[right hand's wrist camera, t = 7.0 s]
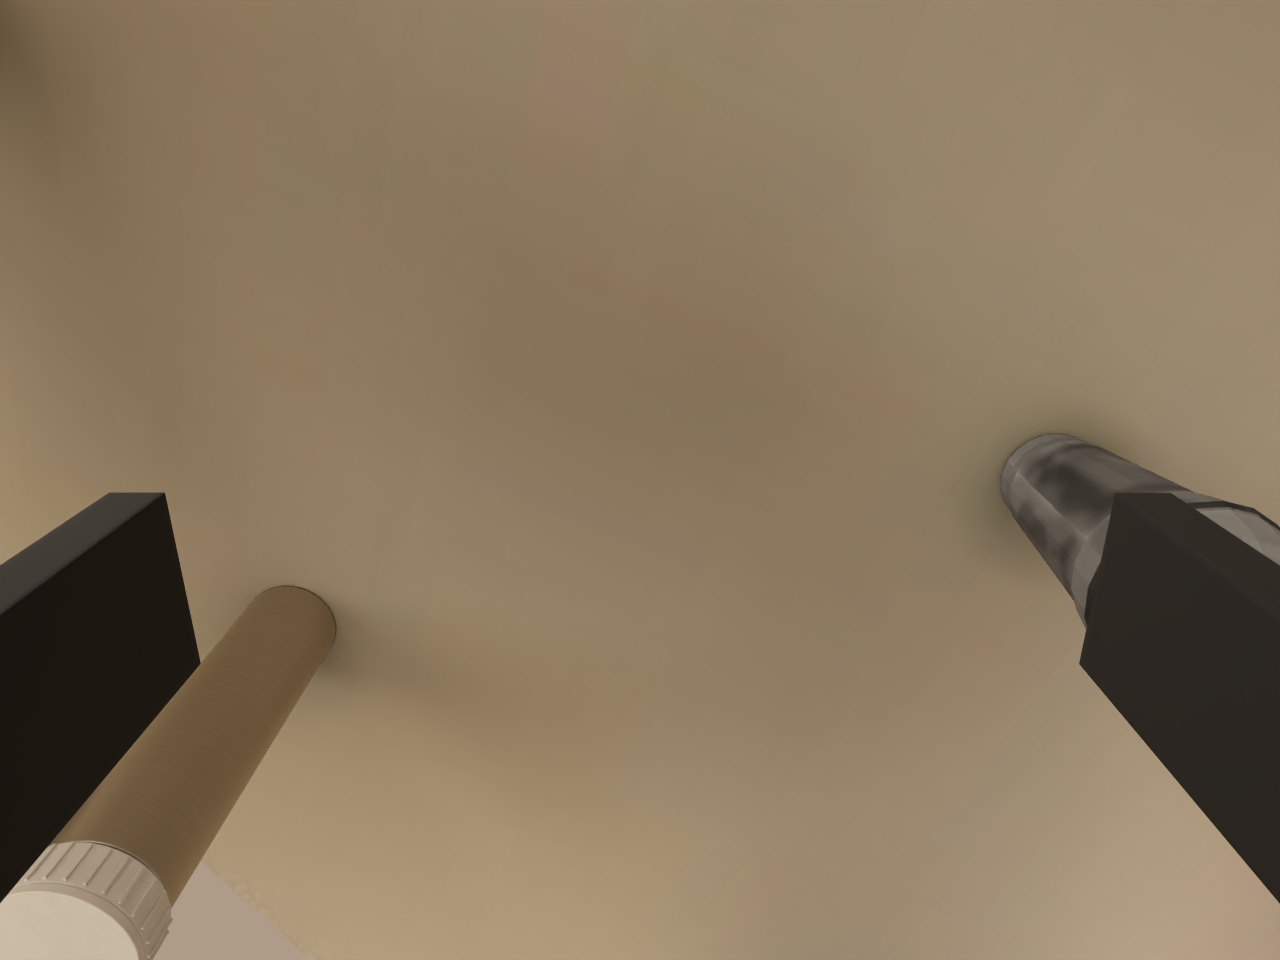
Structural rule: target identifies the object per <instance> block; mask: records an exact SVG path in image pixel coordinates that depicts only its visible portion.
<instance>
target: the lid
mask: <svg viewBox="0 0 1280 960" xmlns="http://www.w3.org/2000/svg"><path fill="white" fill-rule="evenodd" d="M171 908H172V905H170V901H169V898H168V895H167V891H165V889H164V887H163V885H162V884H161V882H160V881H159V879H158V878H157V877H156V876H155V875H154V874H153V873H152V872H151V871H150V870H149V869H148V868H147V867H146V866H145V865H143V864H142V863H141V862H139V861H138V860H136V859H135V858H133V857H131V856H129V855H128V854H126V853H123V852H121V851H119V850H117V849H114V848H111V847H108V846H104V845H100V844H95V843H88V842H66V843H60V844H56V843H55V844H52V846H49V847H47V848H46V849H45V851H44V852H43V853H42V854H41V855H40V856H39V858H38V859H37V860H36V861H35V862H34V864H33V865H32V866H31V867H30V868H29V870H28V871H27V872H26V873H25V874H24V876H23V877H22V878H21V879H20V880H19V882H18V883H17V884H16V885H15V886H14V888H13V889H12V890H11V891H10V892H9V894H8V895H7V896H6V897H5V898H4V899H3V901H2V902H1V903H0V960H153V958H154V956H155V954H156V953H157V951H158V949H159V948H160V946H161V944H162V943H163V941H164V939H165V938H166V936H167V934H168V933H169V931H168V930H167V929H168V927H169V925H170V923H171V922H172V918H170V917H171Z"/></svg>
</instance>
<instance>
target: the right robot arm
mask: <svg viewBox="0 0 1280 960" xmlns="http://www.w3.org/2000/svg"><path fill="white" fill-rule="evenodd" d="M200 664H201V663H200V658H199V653H198V648H197V644H196V639H195V634H194V629H193V625H192V620H191V615H190V610H189V605H188V601H187V596H186V591H185V586H184V582H183V577H182V572H181V567H180V563H179V558H178V553H177V548H176V544H175V539H174V534H173V529H172V525H171V520H170V515H169V510H168V506H167V501H166V496H165V493H108V494H107V495H105V496H104V497H102V498H101V499H99V500H98V501H96V502H95V503H93V504H92V505H90V506H89V507H87V508H86V509H84V510H83V511H81V512H80V513H78V514H77V515H75V516H74V517H72V518H71V519H69V520H68V521H66V522H65V523H63V524H62V525H60V526H59V527H57V528H56V529H54V530H53V531H51V532H50V533H48V534H47V535H45V536H44V537H42V538H41V539H39V540H38V541H36V542H35V543H33V544H32V545H30V546H29V547H27V548H26V549H24V550H23V551H21V552H20V553H18V554H17V555H15V556H14V557H12V558H11V559H9V560H8V561H6V562H5V563H3V564H2V565H0V903H1V902H2V901H3V899H4V898H5V897H6V896H7V895H8V894H9V892H10V891H11V890H12V889H13V888H14V886H15V885H16V884H17V883H18V882H19V880H20V879H21V878H22V877H23V876H24V874H25V873H26V872H27V871H28V870H29V868H30V867H31V866H32V865H33V864H34V862H35V861H36V860H37V859H38V858H39V856H40V855H41V854H42V853H43V852H44V851H45V849H46V848H47V847H48V846H49V845H50V843H51V842H52V841H53V840H54V839H55V837H56V836H57V835H58V834H59V833H60V831H61V830H62V829H63V828H64V827H65V825H66V824H67V823H68V822H69V821H70V819H71V818H72V817H73V816H74V815H75V813H76V812H77V811H78V810H79V809H80V807H81V806H82V805H83V804H84V803H85V802H86V800H87V799H88V798H89V797H90V796H91V794H92V793H93V792H94V791H95V790H96V788H97V787H98V786H99V785H100V784H101V782H102V781H103V780H104V779H105V778H106V776H107V775H108V774H109V773H110V772H111V770H112V769H113V768H114V767H115V766H116V764H117V763H118V762H119V761H120V760H121V759H122V757H123V756H124V755H125V754H126V753H127V751H128V750H129V749H130V748H131V747H132V745H133V744H134V743H135V742H136V741H137V739H138V738H139V737H140V736H141V735H142V733H143V732H144V731H145V730H146V729H147V727H148V726H149V725H150V724H151V723H152V721H153V720H154V719H155V718H156V717H157V716H158V714H159V713H160V712H161V711H162V710H163V708H164V707H165V706H166V705H167V704H168V702H169V701H170V700H171V699H172V698H173V696H174V695H175V694H176V693H177V692H178V690H179V689H180V688H181V687H182V686H183V684H184V683H185V682H186V681H187V680H188V678H189V677H190V676H191V675H192V674H193V673H194V671H195V670H196V669H197V668H198V667H199V665H200ZM1079 664H1080V665H1081V667H1082V668H1083V669H1084V670H1085V671H1086V673H1087V674H1088V675H1089V676H1090V677H1091V678H1092V680H1093V681H1094V682H1095V683H1096V684H1097V686H1098V687H1099V688H1100V689H1101V690H1102V692H1103V693H1104V694H1105V695H1106V696H1107V698H1108V699H1109V700H1110V701H1111V702H1112V704H1113V705H1114V706H1115V707H1116V708H1117V710H1118V711H1119V712H1120V713H1121V714H1122V716H1123V717H1124V718H1125V719H1126V720H1127V721H1128V723H1129V724H1130V725H1131V726H1132V727H1133V729H1134V730H1135V731H1136V732H1137V733H1138V735H1139V736H1140V737H1141V738H1142V739H1143V741H1144V742H1145V743H1146V744H1147V745H1148V747H1149V748H1150V749H1151V750H1152V751H1153V753H1154V754H1155V755H1156V756H1157V757H1158V759H1159V760H1160V761H1161V762H1162V763H1163V764H1164V766H1165V767H1166V768H1167V769H1168V770H1169V772H1170V773H1171V774H1172V775H1173V776H1174V778H1175V779H1176V780H1177V781H1178V782H1179V784H1180V785H1181V786H1182V787H1183V788H1184V790H1185V791H1186V792H1187V793H1188V794H1189V796H1190V797H1191V798H1192V799H1193V800H1194V802H1195V803H1196V804H1197V805H1198V806H1199V807H1200V809H1201V810H1202V811H1203V812H1204V813H1205V815H1206V816H1207V817H1208V818H1209V819H1210V821H1211V822H1212V823H1213V824H1214V825H1215V827H1216V828H1217V829H1218V830H1219V831H1220V833H1221V834H1222V835H1223V836H1224V837H1225V839H1226V840H1227V841H1228V842H1229V843H1230V845H1231V846H1232V847H1233V848H1234V849H1235V851H1236V852H1237V853H1238V854H1239V855H1240V856H1241V858H1242V859H1243V860H1244V861H1245V862H1246V864H1247V865H1248V866H1249V867H1250V868H1251V870H1252V871H1253V872H1254V873H1255V874H1256V876H1257V877H1258V878H1259V879H1260V880H1261V882H1262V883H1263V884H1264V885H1265V886H1266V888H1267V889H1268V890H1269V891H1270V892H1271V894H1272V895H1273V896H1274V897H1275V898H1276V899H1277V901H1278V902H1279V903H1280V565H1278V564H1277V563H1275V562H1274V561H1272V560H1271V559H1269V558H1268V557H1266V556H1265V555H1263V554H1262V553H1260V552H1259V551H1257V550H1256V549H1254V548H1253V547H1251V546H1250V545H1248V544H1247V543H1245V542H1244V541H1242V540H1241V539H1239V538H1238V537H1236V536H1235V535H1233V534H1232V533H1230V532H1229V531H1227V530H1226V529H1224V528H1223V527H1221V526H1220V525H1218V524H1217V523H1215V522H1214V521H1212V520H1211V519H1209V518H1208V517H1206V516H1205V515H1203V514H1202V513H1200V512H1199V511H1197V510H1196V509H1194V508H1193V507H1191V506H1190V505H1188V504H1187V503H1185V502H1184V501H1182V500H1181V499H1179V498H1178V497H1176V496H1175V495H1173V494H1172V493H1115V496H1114V501H1113V505H1112V510H1111V515H1110V520H1109V525H1108V529H1107V534H1106V539H1105V544H1104V548H1103V553H1102V558H1101V563H1100V567H1099V572H1098V577H1097V582H1096V586H1095V591H1094V596H1093V601H1092V605H1091V610H1090V615H1089V620H1088V625H1087V629H1086V634H1085V639H1084V644H1083V648H1082V653H1081V658H1080V663H1079Z"/></svg>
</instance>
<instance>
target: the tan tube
mask: <svg viewBox="0 0 1280 960" xmlns="http://www.w3.org/2000/svg"><path fill="white" fill-rule="evenodd" d="M335 633H336V626H335V621H334V618H333V615H332V613H331V611H330V609H329V608H328V607H327V605H326V604H325V603H324V602H323V601H322V600H321V599H320V598H318V597H317V596H316V595H314V594H312V593H311V592H309V591H306V590H304V589H301V588H297V587H290V586H282V587H275V588H272V589H268V590H266V591H264V592H263V593H261V594H260V595H259V596H257V597H256V598H255V600H254V601H253V602H252V603H251V604H250V605H249V607H248V608H247V609H246V610H245V611H244V613H243V614H242V615H241V616H240V617H239V619H238V620H237V621H236V622H235V623H234V625H233V626H232V627H231V628H230V629H229V631H228V632H227V633H226V634H225V635H224V637H223V638H222V639H221V640H220V641H219V643H218V644H217V645H216V646H215V647H214V648H213V650H212V651H211V652H210V653H209V654H208V656H207V657H206V658H205V659H204V660H203V662H202V663H201V664H200V665H199V667H198V668H197V669H196V670H195V671H194V673H193V674H192V675H191V676H190V677H189V678H188V680H187V681H186V682H185V683H184V684H183V686H182V687H181V688H180V689H179V690H178V692H177V693H176V694H175V695H174V696H173V698H172V699H171V700H170V701H169V702H168V704H167V705H166V706H165V707H164V708H163V710H162V711H161V712H160V713H159V714H158V716H157V717H156V718H155V719H154V720H153V721H152V723H151V724H150V725H149V726H148V727H147V729H146V730H145V731H144V732H143V733H142V735H141V736H140V737H139V738H138V739H137V741H136V742H135V743H134V744H133V745H132V747H131V748H130V749H129V750H128V751H127V753H126V754H125V755H124V756H123V757H122V759H121V760H120V761H119V762H118V763H117V764H116V766H115V767H114V768H113V769H112V770H111V772H110V773H109V774H108V775H107V776H106V778H105V779H104V780H103V781H102V782H101V784H100V785H99V786H98V787H97V788H96V790H95V791H94V792H93V793H92V794H91V796H90V797H89V798H88V799H87V800H86V802H85V803H84V804H83V805H82V806H81V807H80V809H79V810H78V811H77V812H76V813H75V815H74V816H73V817H72V818H71V819H70V821H69V822H68V823H67V824H66V825H65V827H64V828H63V829H62V830H61V831H60V833H59V834H58V835H57V836H56V837H55V839H54V840H53V841H52V842H51V843H50V845H49V846H52V844H55V843H56V844H60V843H66V842H88V843H95V844H100V845H104V846H108V847H111V848H114V849H117V850H119V851H121V852H123V853H126V854H128V855H129V856H131V857H133V858H135V859H136V860H138V861H139V862H141V863H142V864H143V865H145V866H146V867H147V868H148V869H149V870H150V871H151V872H152V873H153V874H154V875H155V876H156V877H157V878H158V879H159V881H160V882H161V884H162V885H163V887H164V889H165V891H167V895H168V898H169V901H170V905H172V907H173V905H174V903H175V902H176V900H177V898H178V897H179V895H180V893H181V892H182V890H183V889H184V887H185V885H186V884H187V882H188V880H189V879H190V877H191V875H192V874H193V872H194V870H195V869H196V867H197V866H198V864H199V862H200V861H201V859H202V857H203V856H204V854H205V852H206V851H207V849H208V847H209V846H210V844H211V843H212V841H213V839H214V838H215V836H216V834H217V833H218V831H219V829H220V828H221V826H222V824H223V823H224V821H225V820H226V818H227V816H228V815H229V813H230V811H231V810H232V808H233V806H234V805H235V803H236V801H237V800H238V798H239V797H240V795H241V793H242V792H243V790H244V788H245V787H246V785H247V783H248V782H249V780H250V779H251V777H252V775H253V774H254V772H255V770H256V769H257V767H258V765H259V764H260V762H261V760H262V759H263V757H264V756H265V754H266V752H267V751H268V749H269V747H270V746H271V744H272V742H273V741H274V739H275V737H276V736H277V734H278V733H279V731H280V729H281V728H282V726H283V724H284V723H285V721H286V719H287V718H288V716H289V714H290V713H291V711H292V710H293V708H294V706H295V705H296V703H297V701H298V700H299V698H300V696H301V695H302V693H303V692H304V690H305V688H306V687H307V685H308V683H309V682H310V680H311V678H312V677H313V675H314V673H315V672H316V670H317V669H318V667H319V665H320V664H321V662H322V660H323V659H324V657H325V655H326V654H327V652H328V650H329V649H330V647H331V646H332V644H333V641H334V639H335ZM49 846H48V847H49Z"/></svg>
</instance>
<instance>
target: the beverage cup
mask: <svg viewBox="0 0 1280 960" xmlns="http://www.w3.org/2000/svg"><path fill="white" fill-rule="evenodd" d="M1001 492H1002V496H1003V499H1004V502H1005V503H1006V505H1007V506H1008V507H1009V509H1010V510H1011V512H1012V514H1013V517H1014V519H1015V520H1016V521H1017V523H1018V524H1019V525H1020V527H1021V528H1022V530H1023V531H1024V532H1025V534H1026V535H1027V536H1028V538H1029V539H1030V541H1031V542H1032V543H1033V545H1034V546H1035V548H1036V549H1037V550H1038V552H1039V553H1040V554H1041V556H1042V557H1043V559H1044V560H1045V561H1046V563H1047V564H1048V566H1049V567H1050V568H1051V570H1052V571H1053V572H1054V574H1055V575H1056V577H1057V578H1058V579H1059V581H1060V582H1061V583H1062V585H1063V586H1064V588H1065V589H1066V590H1067V592H1068V593H1069V595H1070V596H1071V597H1072V599H1073V600H1074V601H1075V605H1076V609H1077V611H1078V614H1079V616H1080V618H1081V620H1082V622H1083V624H1084V626H1085V628H1086V629H1087V625H1088V620H1089V615H1090V610H1091V605H1092V601H1093V596H1094V591H1095V586H1096V582H1097V577H1098V572H1099V567H1100V563H1101V558H1102V553H1103V548H1104V544H1105V539H1106V534H1107V529H1108V525H1109V520H1110V515H1111V510H1112V505H1113V501H1114V496H1115V493H1172V494H1173V495H1175V496H1176V497H1178V498H1179V499H1181V500H1182V501H1184V502H1185V503H1187V504H1188V505H1190V506H1191V507H1193V508H1194V509H1196V510H1197V511H1199V512H1200V513H1202V514H1203V515H1205V516H1206V517H1208V518H1209V519H1211V520H1212V521H1214V522H1215V523H1217V524H1218V525H1220V526H1221V527H1223V528H1224V529H1226V530H1227V531H1229V532H1230V533H1232V534H1233V535H1235V536H1236V537H1238V538H1239V539H1241V540H1242V541H1244V542H1245V543H1247V544H1248V545H1250V546H1251V547H1253V548H1254V549H1256V550H1257V551H1259V552H1260V553H1262V554H1263V555H1265V556H1266V557H1268V558H1269V559H1271V560H1272V561H1274V562H1275V563H1277V564H1278V565H1280V527H1279V526H1278V525H1277V524H1276V523H1274V522H1273V521H1271V520H1270V519H1268V518H1267V517H1265V516H1264V515H1263V514H1261V513H1260V512H1258V511H1257V510H1255V509H1254V508H1251V507H1246V506H1242V505H1238V504H1234V503H1230V502H1227V501H1224V500H1220V499H1217V498H1214V497H1210V496H1206V495H1202V494H1198V493H1195V492H1193V491H1191V490H1189V489H1186V488H1184V487H1182V486H1180V485H1178V484H1176V483H1174V482H1172V481H1170V480H1168V479H1165V478H1163V477H1161V476H1159V475H1157V474H1155V473H1153V472H1151V471H1149V470H1147V469H1144V468H1142V467H1140V466H1138V465H1136V464H1134V463H1132V462H1130V461H1128V460H1126V459H1123V458H1121V457H1119V456H1117V455H1115V454H1113V453H1111V452H1109V451H1107V450H1105V449H1102V448H1100V447H1098V446H1096V445H1094V444H1090V443H1086V442H1084V441H1080V440H1078V439H1077V438H1076V437H1072V436H1068V435H1064V434H1049V435H1043V436H1041V437H1038V438H1035V439H1032V440H1030V441H1029V442H1027V443H1026V444H1024V445H1023V446H1021V447H1020V448H1019V449H1017V451H1016V452H1015V453H1014V454H1013V455H1012V457H1011V458H1010V459H1009V460H1008V461H1007V464H1006V466H1005V469H1004V471H1003V473H1002V478H1001Z"/></svg>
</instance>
